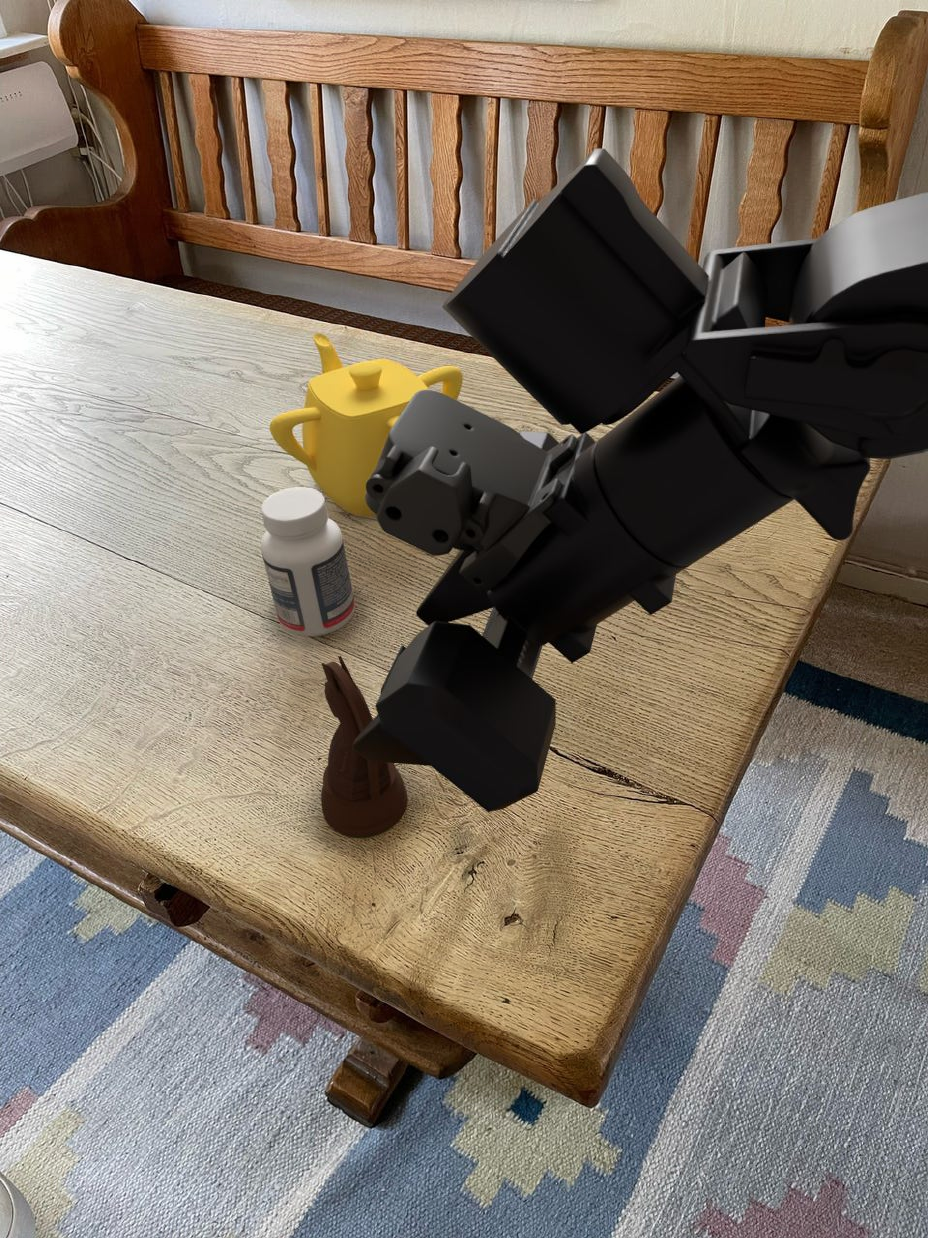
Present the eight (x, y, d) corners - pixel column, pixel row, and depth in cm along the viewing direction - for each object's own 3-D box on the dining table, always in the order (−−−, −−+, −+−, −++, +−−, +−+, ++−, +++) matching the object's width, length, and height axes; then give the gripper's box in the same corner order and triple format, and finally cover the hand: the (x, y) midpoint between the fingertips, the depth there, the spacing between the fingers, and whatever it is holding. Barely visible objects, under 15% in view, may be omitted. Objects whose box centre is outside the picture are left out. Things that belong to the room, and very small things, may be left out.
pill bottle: (355, 586, 67) (336, 476, 62) (356, 634, 63) (336, 521, 58) (279, 595, 67) (254, 485, 61) (276, 643, 63) (248, 530, 57)
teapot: (263, 515, 75) (235, 394, 69) (333, 437, 84) (314, 324, 78) (426, 539, 71) (412, 414, 65) (481, 454, 80) (474, 337, 74)
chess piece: (383, 761, 54) (360, 625, 48) (427, 821, 51) (408, 682, 44) (309, 796, 53) (275, 660, 46) (349, 861, 49) (318, 723, 43)
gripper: (543, 251, 40) (334, 462, 49) (408, 485, 26) (154, 715, 36) (718, 435, 43) (489, 600, 53) (679, 731, 29) (378, 881, 39)
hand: (394, 680), depth 45 cm, fingers open, 9 cm apart
